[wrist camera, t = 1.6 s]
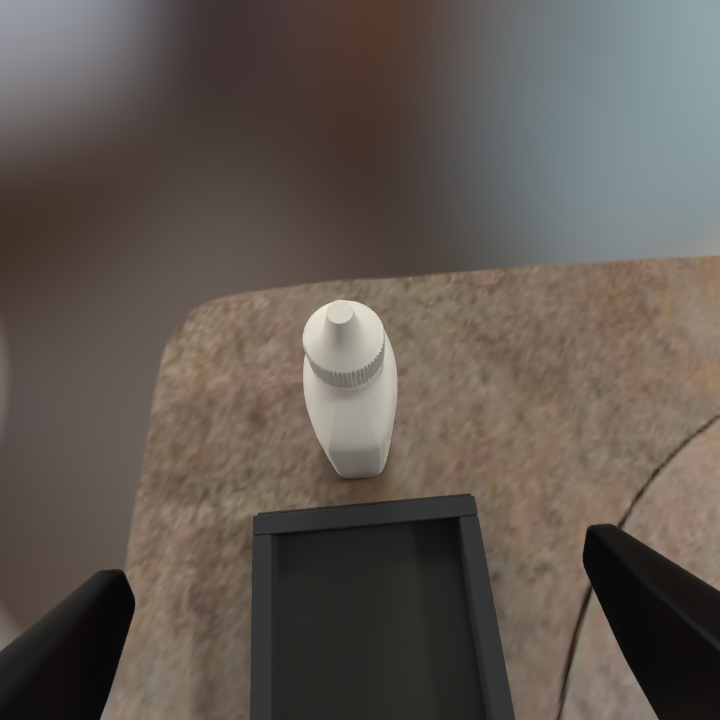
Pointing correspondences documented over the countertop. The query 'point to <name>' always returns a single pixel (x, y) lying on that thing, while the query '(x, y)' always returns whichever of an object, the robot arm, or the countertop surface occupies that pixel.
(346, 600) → the dock pad
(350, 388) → the eye dropper bottle
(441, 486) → the countertop surface
